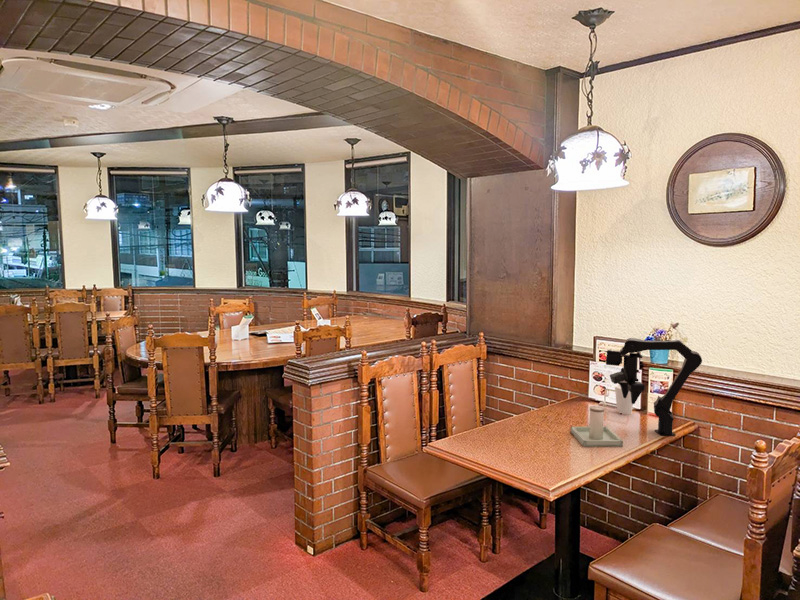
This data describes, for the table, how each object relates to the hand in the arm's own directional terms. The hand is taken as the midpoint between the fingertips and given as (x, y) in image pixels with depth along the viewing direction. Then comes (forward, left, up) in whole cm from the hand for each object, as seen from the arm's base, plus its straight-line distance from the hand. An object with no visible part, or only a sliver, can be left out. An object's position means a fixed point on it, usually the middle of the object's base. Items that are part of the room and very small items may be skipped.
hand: (628, 400), depth 252 cm
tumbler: (-13, +19, -12) cm, 26 cm away
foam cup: (+24, -8, -13) cm, 29 cm away
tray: (-13, +19, -13) cm, 26 cm away
